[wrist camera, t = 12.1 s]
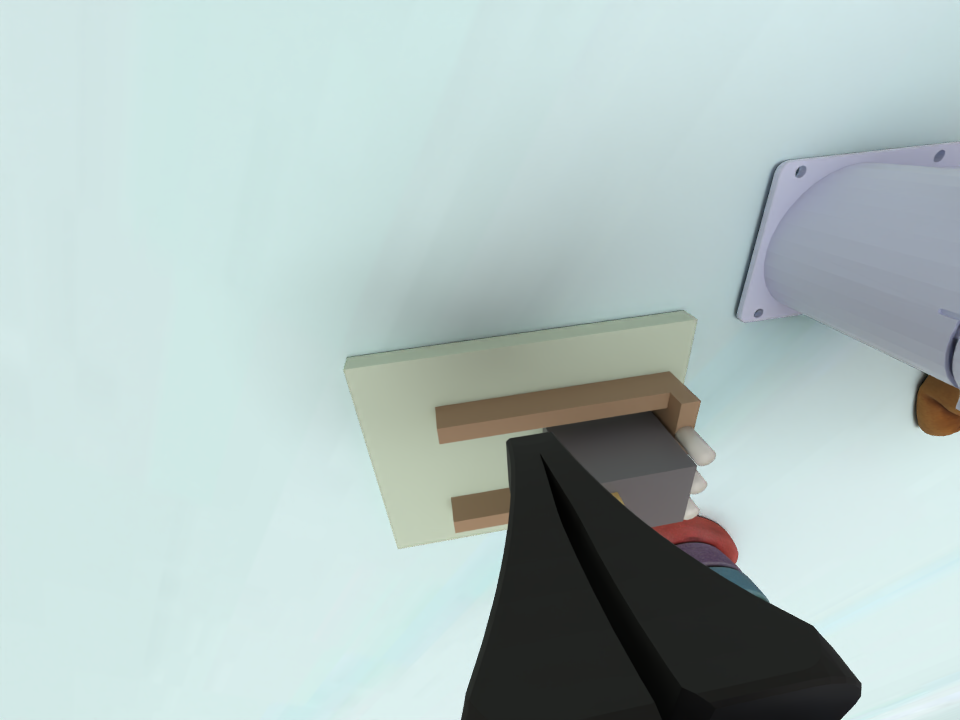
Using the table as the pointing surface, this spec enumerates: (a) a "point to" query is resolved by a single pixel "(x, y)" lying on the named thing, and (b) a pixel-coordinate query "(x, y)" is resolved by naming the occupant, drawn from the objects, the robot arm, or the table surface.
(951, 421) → the brown teddy bear
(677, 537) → the stacking bear
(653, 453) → the plug block
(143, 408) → the table surface
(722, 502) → the table surface
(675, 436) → the board
